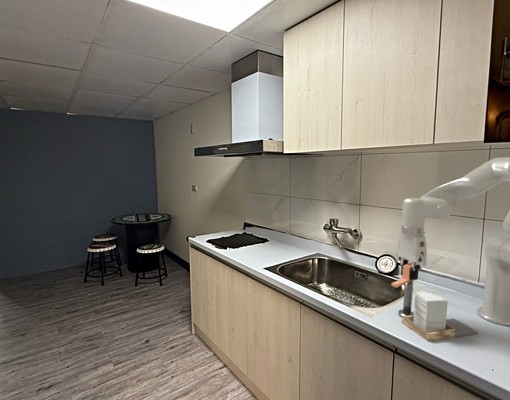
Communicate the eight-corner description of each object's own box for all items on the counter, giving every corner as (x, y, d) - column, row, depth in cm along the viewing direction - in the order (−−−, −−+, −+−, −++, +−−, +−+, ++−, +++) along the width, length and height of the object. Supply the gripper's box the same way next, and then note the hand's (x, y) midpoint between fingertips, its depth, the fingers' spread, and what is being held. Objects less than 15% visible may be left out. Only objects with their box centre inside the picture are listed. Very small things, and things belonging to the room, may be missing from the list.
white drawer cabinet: (431, 323, 107) (434, 291, 106) (445, 335, 100) (448, 300, 98) (412, 323, 107) (414, 291, 105) (424, 335, 100) (427, 300, 98)
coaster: (453, 320, 109) (453, 318, 109) (477, 333, 101) (477, 331, 101) (434, 323, 107) (434, 321, 107) (456, 337, 98) (456, 335, 98)
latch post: (407, 310, 116) (409, 276, 115) (419, 318, 111) (421, 282, 109) (394, 312, 115) (396, 277, 113) (406, 320, 109) (408, 283, 108)
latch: (416, 279, 112) (417, 264, 111) (397, 287, 104) (398, 271, 103) (409, 277, 114) (410, 262, 113) (390, 285, 106) (391, 269, 105)
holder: (427, 318, 110) (428, 312, 110) (455, 336, 99) (456, 329, 99) (402, 322, 107) (402, 316, 107) (428, 341, 96) (428, 334, 96)
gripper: (439, 235, 102) (435, 285, 104) (403, 226, 118) (401, 269, 120) (422, 236, 100) (418, 287, 102) (388, 226, 116) (385, 270, 118)
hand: (409, 276), depth 111 cm, fingers open, 3 cm apart
